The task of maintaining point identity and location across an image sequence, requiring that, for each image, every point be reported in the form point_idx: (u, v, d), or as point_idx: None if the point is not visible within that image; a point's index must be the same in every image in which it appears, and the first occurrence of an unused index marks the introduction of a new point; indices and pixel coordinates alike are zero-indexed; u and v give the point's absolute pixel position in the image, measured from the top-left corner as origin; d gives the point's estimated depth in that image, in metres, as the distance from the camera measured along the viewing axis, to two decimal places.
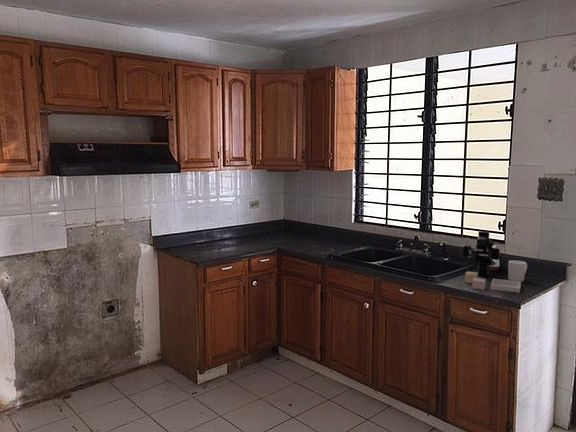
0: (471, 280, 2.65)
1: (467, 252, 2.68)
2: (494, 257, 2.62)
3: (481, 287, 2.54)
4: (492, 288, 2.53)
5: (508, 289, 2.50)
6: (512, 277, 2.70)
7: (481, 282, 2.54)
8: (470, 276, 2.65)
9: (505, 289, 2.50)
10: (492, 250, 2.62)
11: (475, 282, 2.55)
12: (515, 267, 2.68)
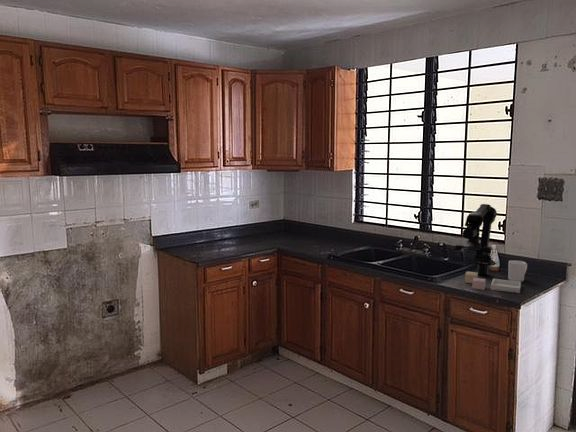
0: (471, 280, 2.65)
1: None
2: None
3: (481, 287, 2.54)
4: (492, 288, 2.53)
5: (508, 289, 2.50)
6: (512, 277, 2.70)
7: (481, 282, 2.54)
8: (470, 276, 2.65)
9: (505, 289, 2.50)
10: (483, 254, 2.61)
11: (475, 282, 2.55)
12: (515, 267, 2.68)
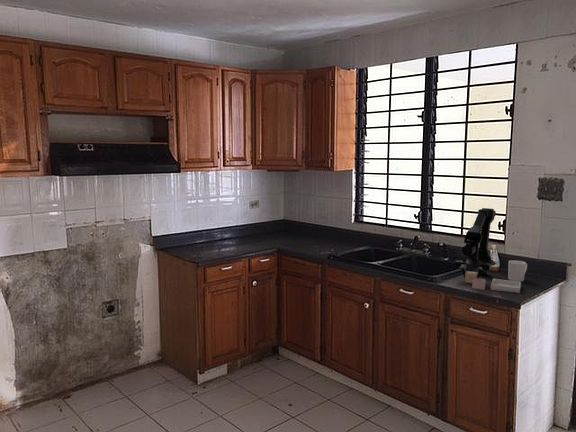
0: (471, 280, 2.65)
1: None
2: None
3: (481, 287, 2.54)
4: (492, 288, 2.53)
5: (508, 289, 2.50)
6: (512, 277, 2.70)
7: (481, 282, 2.54)
8: (470, 276, 2.65)
9: (505, 289, 2.50)
10: (480, 271, 2.63)
11: (475, 282, 2.55)
12: (515, 267, 2.68)
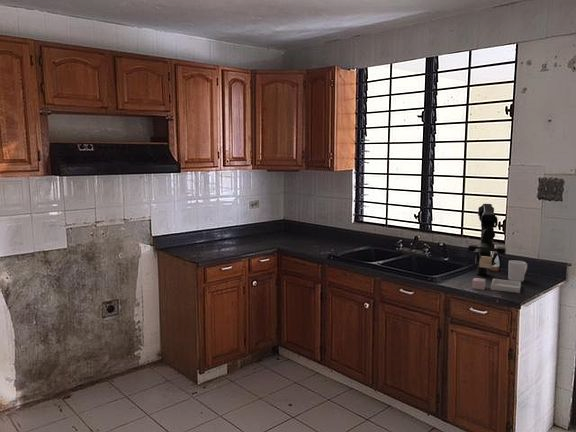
0: (486, 264, 2.59)
1: None
2: None
3: (481, 287, 2.54)
4: (492, 288, 2.53)
5: (508, 289, 2.50)
6: (512, 277, 2.70)
7: (481, 282, 2.54)
8: (485, 260, 2.59)
9: (505, 289, 2.50)
10: (495, 255, 2.57)
11: (475, 282, 2.55)
12: (515, 267, 2.68)
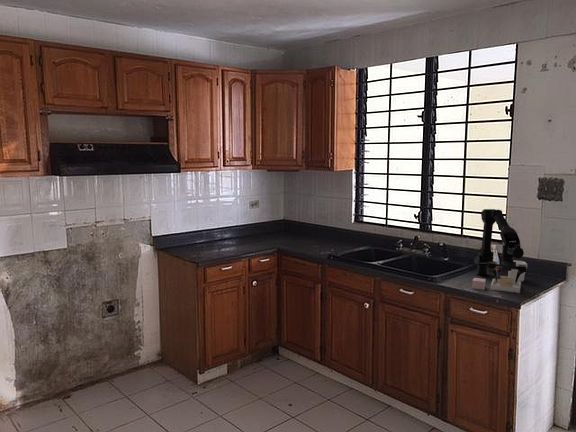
0: (506, 285, 2.54)
1: None
2: None
3: (481, 287, 2.54)
4: (492, 288, 2.53)
5: (508, 289, 2.50)
6: None
7: (481, 282, 2.54)
8: (505, 281, 2.54)
9: (505, 289, 2.50)
10: (519, 273, 2.51)
11: (475, 282, 2.55)
12: None
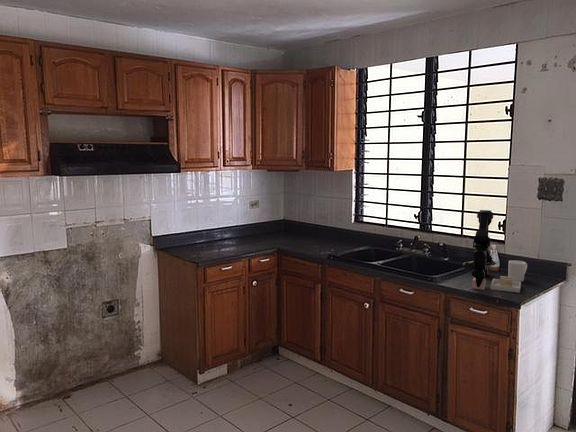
0: (506, 285, 2.54)
1: None
2: (481, 276, 2.51)
3: (481, 287, 2.54)
4: (492, 288, 2.53)
5: (508, 289, 2.50)
6: None
7: None
8: (505, 281, 2.54)
9: (505, 289, 2.50)
10: None
11: (475, 282, 2.55)
12: (515, 267, 2.68)
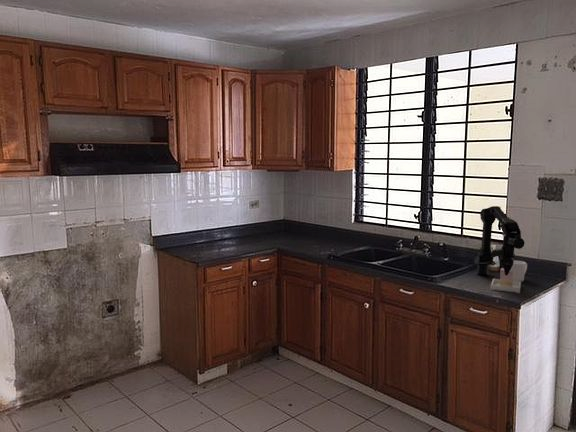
0: (506, 285, 2.54)
1: None
2: (510, 264, 2.48)
3: (509, 277, 2.52)
4: (492, 288, 2.53)
5: (508, 289, 2.50)
6: None
7: (509, 272, 2.52)
8: (505, 281, 2.54)
9: (505, 289, 2.50)
10: None
11: (503, 272, 2.53)
12: (515, 267, 2.68)
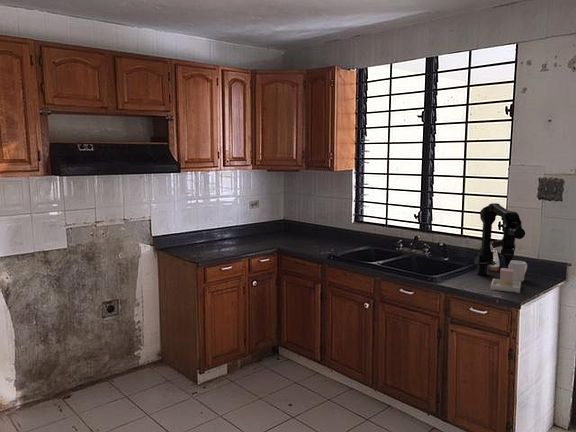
0: (506, 285, 2.54)
1: None
2: (510, 255, 2.47)
3: (509, 277, 2.52)
4: (492, 288, 2.53)
5: (508, 289, 2.50)
6: None
7: (509, 272, 2.52)
8: (505, 281, 2.54)
9: (505, 289, 2.50)
10: None
11: (503, 272, 2.53)
12: (515, 267, 2.68)
